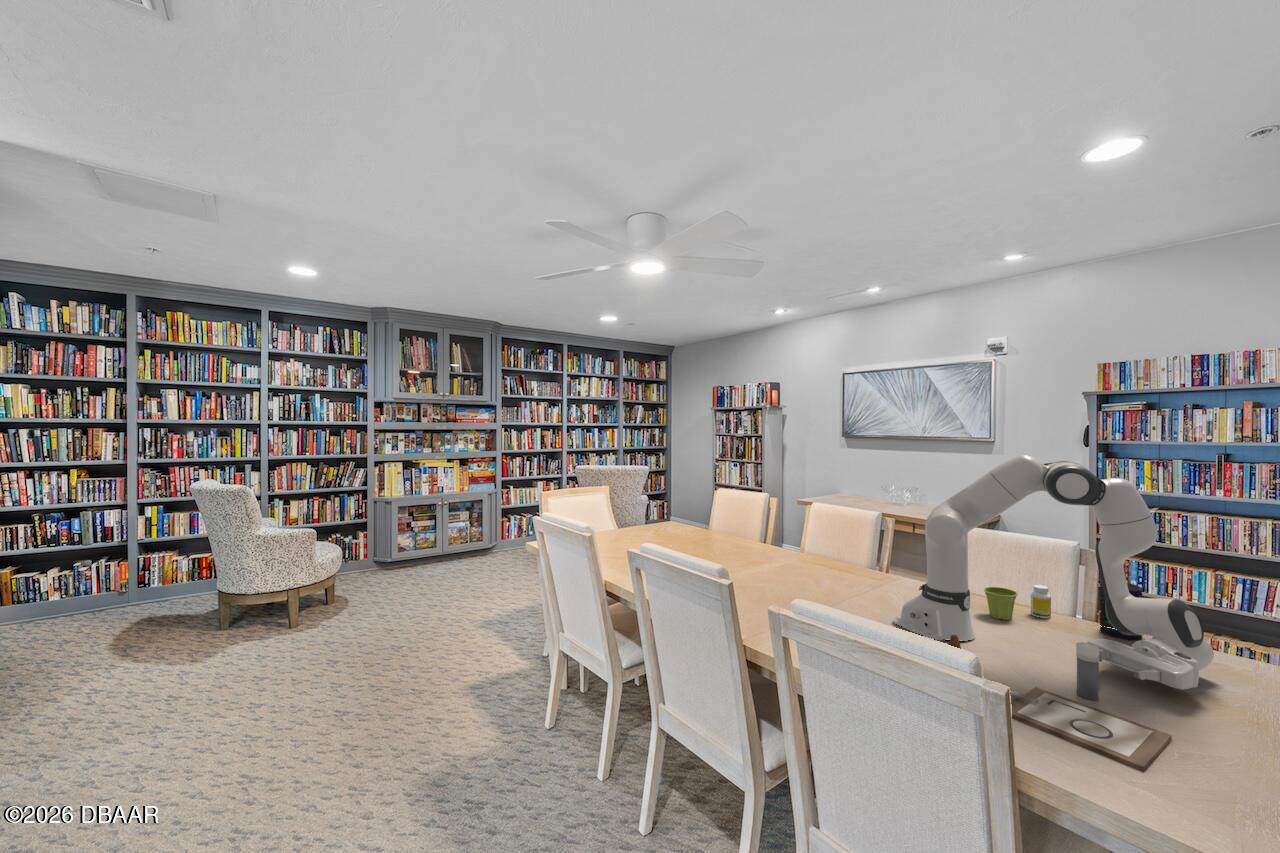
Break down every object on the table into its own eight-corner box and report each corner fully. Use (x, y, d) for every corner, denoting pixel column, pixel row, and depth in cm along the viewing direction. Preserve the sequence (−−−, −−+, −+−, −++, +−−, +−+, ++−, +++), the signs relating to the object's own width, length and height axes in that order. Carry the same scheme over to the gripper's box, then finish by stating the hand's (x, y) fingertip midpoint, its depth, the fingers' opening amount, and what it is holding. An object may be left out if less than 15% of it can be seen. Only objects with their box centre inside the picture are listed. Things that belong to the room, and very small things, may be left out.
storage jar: (1104, 637, 161) (1104, 587, 161) (1095, 625, 170) (1095, 579, 170) (1148, 643, 156) (1148, 592, 156) (1136, 631, 165) (1136, 583, 165)
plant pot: (1005, 624, 172) (1005, 597, 172) (977, 614, 181) (977, 588, 181) (1024, 619, 175) (1024, 593, 175) (996, 610, 184) (996, 585, 184)
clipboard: (993, 710, 122) (993, 703, 122) (1028, 687, 131) (1028, 681, 131) (1143, 771, 100) (1143, 762, 100) (1171, 739, 110) (1171, 731, 110)
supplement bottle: (1054, 619, 176) (1054, 589, 175) (1035, 618, 177) (1035, 588, 176) (1045, 613, 181) (1045, 584, 181) (1027, 612, 182) (1027, 583, 182)
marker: (1073, 694, 128) (1073, 644, 128) (1080, 689, 130) (1080, 640, 130) (1095, 702, 124) (1095, 651, 124) (1102, 697, 127) (1102, 646, 127)
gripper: (1108, 630, 144) (1069, 636, 140) (1206, 663, 124) (1165, 671, 120) (1108, 653, 144) (1069, 660, 140) (1206, 690, 124) (1164, 699, 120)
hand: (1114, 665), depth 130 cm, fingers open, 8 cm apart
